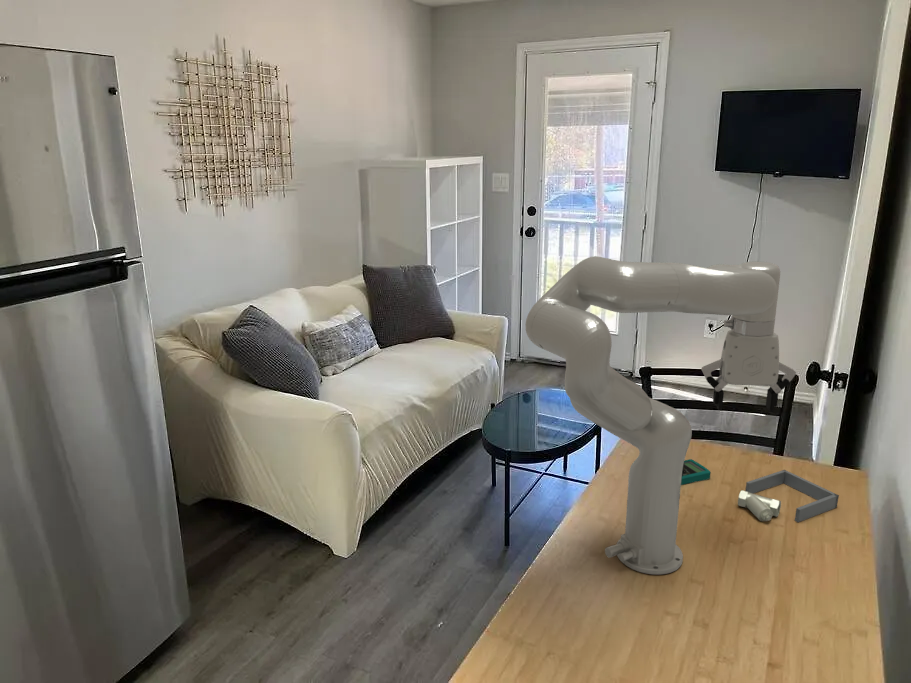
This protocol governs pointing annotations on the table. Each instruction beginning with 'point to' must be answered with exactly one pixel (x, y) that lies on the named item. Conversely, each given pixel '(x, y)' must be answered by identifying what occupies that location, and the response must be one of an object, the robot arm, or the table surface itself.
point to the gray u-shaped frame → (823, 496)
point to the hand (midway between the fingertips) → (743, 408)
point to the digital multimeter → (694, 472)
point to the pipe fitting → (759, 505)
